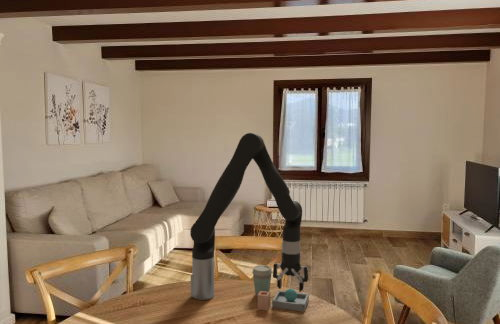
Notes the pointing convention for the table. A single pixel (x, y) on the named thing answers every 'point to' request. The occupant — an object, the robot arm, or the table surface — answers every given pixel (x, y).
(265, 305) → the pinkish brown block
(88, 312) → the table surface
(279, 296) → the tray
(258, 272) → the coffee cup
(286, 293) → the ball
